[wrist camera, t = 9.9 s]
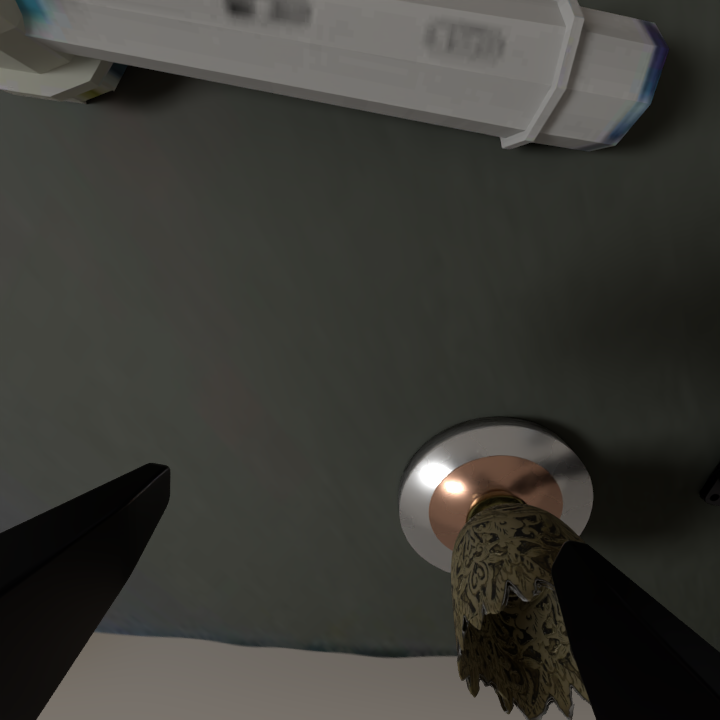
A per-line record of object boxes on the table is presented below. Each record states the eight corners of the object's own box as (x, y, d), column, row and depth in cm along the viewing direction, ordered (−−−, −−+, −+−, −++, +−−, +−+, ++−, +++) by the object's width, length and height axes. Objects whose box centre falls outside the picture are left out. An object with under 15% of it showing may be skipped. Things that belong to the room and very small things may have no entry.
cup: (403, 512, 22) (419, 667, 14) (500, 432, 20) (578, 565, 12) (489, 576, 23) (544, 745, 16) (588, 508, 21) (705, 667, 14)
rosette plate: (613, 437, 21) (628, 450, 20) (541, 575, 25) (550, 593, 24) (424, 399, 21) (427, 411, 19) (380, 546, 24) (381, 563, 23)
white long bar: (637, 164, 13) (-227, 26, 10) (534, 179, 19) (-12, 98, 16) (704, -33, 11) (-342, -293, 8) (566, 55, 17) (-47, -68, 14)
